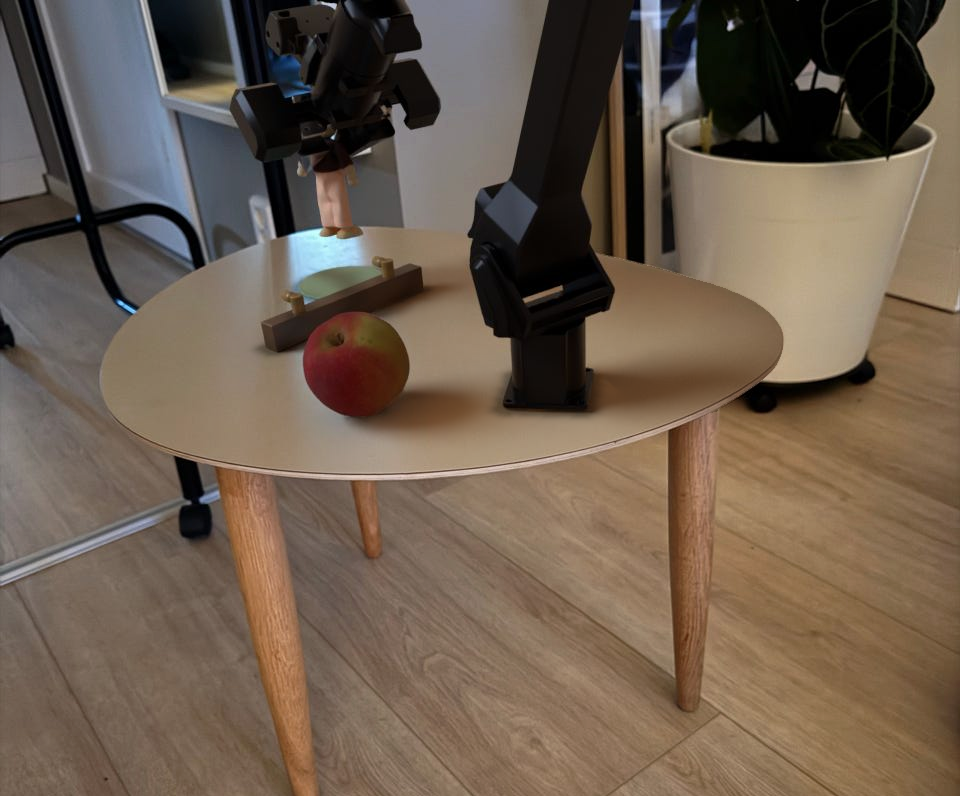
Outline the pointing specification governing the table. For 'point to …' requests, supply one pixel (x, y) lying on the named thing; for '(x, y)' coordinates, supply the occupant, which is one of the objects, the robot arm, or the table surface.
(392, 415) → the table surface
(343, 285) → the hook rail
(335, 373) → the apple
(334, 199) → the grandmother figurine
